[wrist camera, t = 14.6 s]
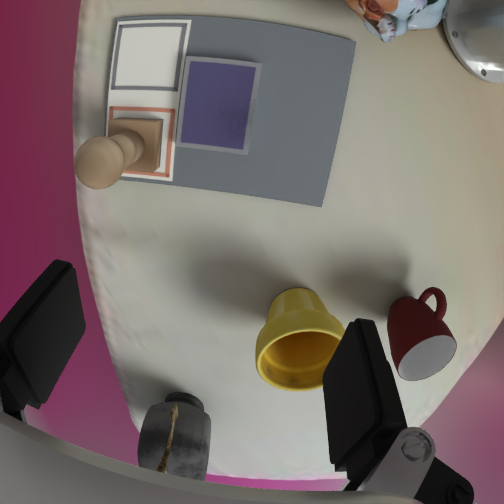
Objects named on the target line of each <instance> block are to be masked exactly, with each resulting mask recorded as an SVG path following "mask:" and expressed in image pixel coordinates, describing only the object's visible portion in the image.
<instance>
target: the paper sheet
mask: <svg viewBox="0 0 504 504" xmlns="http://www.w3.org/2000/svg"><path fill="white" fill-rule="evenodd" d="M191 21H192V20H136V21H121V22H118V23H117V29H116V35H115V42H114V49H113V57H112V65H111V73H110V83H109V94H108V108H107V125H106V137H108V120H111V119H114V118H118V117H126V118H149V119H164V121H163V133H162V145H161V159H160V167H159V168H158V169H157V170H156V171H154V172H153V173H146V172H136V171H125V170H124V171H123V173H122V175H121V176H126V177H136V178H146V179H156V180H165V181H172V179H173V166H174V153H175V142H176V131H177V121H178V112H179V103H180V95H181V87H182V79H183V72H184V65H185V58H186V51H187V45H188V38H189V32H190V27H191Z"/></svg>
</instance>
